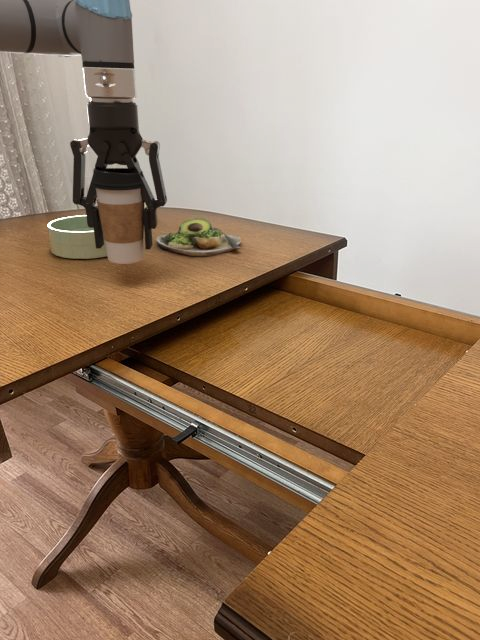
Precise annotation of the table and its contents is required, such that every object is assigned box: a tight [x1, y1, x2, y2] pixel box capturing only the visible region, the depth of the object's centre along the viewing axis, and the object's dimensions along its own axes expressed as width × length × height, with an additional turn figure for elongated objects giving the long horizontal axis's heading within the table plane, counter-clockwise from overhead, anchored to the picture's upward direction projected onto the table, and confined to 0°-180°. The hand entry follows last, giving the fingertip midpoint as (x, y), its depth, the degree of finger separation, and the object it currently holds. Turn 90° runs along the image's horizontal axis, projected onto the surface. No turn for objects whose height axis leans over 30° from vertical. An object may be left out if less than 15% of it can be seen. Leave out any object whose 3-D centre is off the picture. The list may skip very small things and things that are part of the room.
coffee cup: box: [92, 167, 145, 265], centre depth 91 cm, size 8×8×15 cm
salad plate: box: [155, 218, 241, 257], centre depth 120 cm, size 19×18×5 cm
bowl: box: [47, 214, 108, 260], centre depth 115 cm, size 15×15×6 cm
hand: (124, 246), depth 93 cm, fingers closed on coffee cup, 8 cm apart
